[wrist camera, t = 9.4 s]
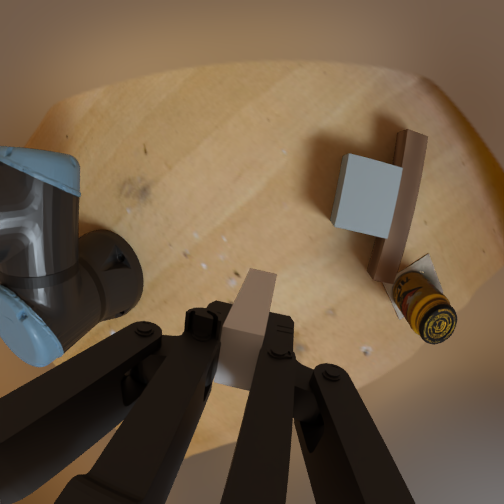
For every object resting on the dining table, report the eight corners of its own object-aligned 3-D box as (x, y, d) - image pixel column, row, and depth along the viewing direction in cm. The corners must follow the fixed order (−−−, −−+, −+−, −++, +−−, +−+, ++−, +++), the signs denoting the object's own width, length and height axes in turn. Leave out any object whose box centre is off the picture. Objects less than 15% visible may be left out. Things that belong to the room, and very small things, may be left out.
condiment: (382, 282, 40) (408, 320, 28) (428, 253, 38) (467, 281, 26) (399, 319, 41) (424, 362, 30) (442, 291, 39) (478, 326, 27)
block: (329, 220, 39) (334, 226, 34) (342, 155, 36) (349, 153, 32) (377, 231, 38) (387, 239, 34) (390, 168, 36) (402, 168, 31)
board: (366, 270, 40) (373, 280, 36) (397, 132, 34) (407, 129, 30) (385, 274, 39) (393, 284, 36) (416, 139, 34) (427, 136, 30)
